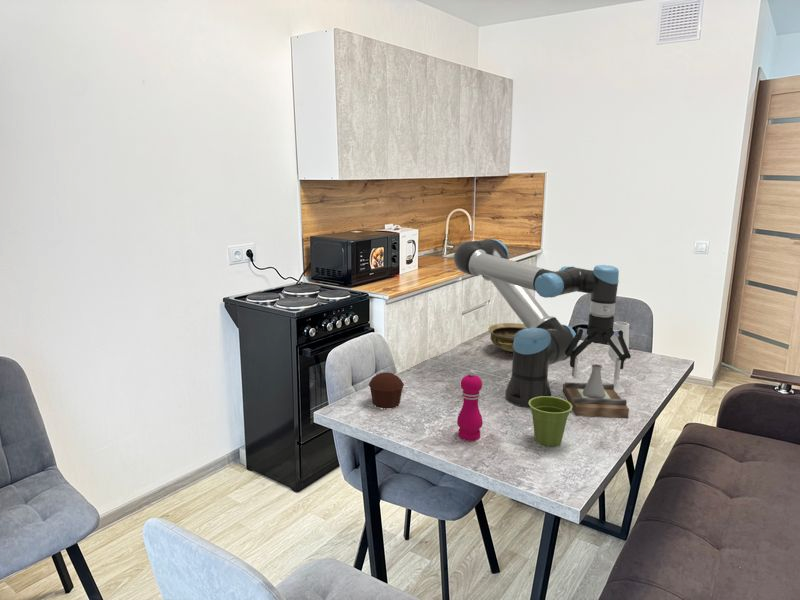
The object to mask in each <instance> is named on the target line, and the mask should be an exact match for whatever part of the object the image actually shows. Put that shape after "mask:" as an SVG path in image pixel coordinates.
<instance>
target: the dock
mask: <svg viewBox="0 0 800 600" xmlns="http://www.w3.org/2000/svg"><path fill="white" fill-rule="evenodd" d="M586 384H587V382H568V381H567V382H564V383H562V391H561V392H562V393H563V396H564V398H565V400H566V401H568V402H570V403H571V404H572V410H571V411H573V414H574V415H575V416H576V417H594V418H598V417H599V418H617V419H618V418H621V419H629V413H630V408H629V406H628V405H627V403H628V401H627V399H626V398H625V399H624V398H623V399H622V398H621V397H620V396H619V393H616V392H615V391H614V385H613V384H614V383H602V384H603V387H604V391H605V394H606V396H604V397H603V398H593V397H589V396H586V395H584V393H583V390H584V388H585V386H586Z"/></svg>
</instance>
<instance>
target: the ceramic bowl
mask: <svg viewBox="0 0 800 600" xmlns="http://www.w3.org/2000/svg"><path fill="white" fill-rule="evenodd" d="M522 329H526V326H525V325H524V324H523V323H515V322H502V323H501V322H500V323H494V324H492V325H490V326H489V327H488V331H489V333H490V340H491V342H492V343H493V344H494V345H495V346H496V347H497V348H499V349H502V350H503V351H505V353H506V352H507V353H506V354H508V353H509V354H508V355H511V354H512V355H511V356H513V342H514V337H515V334H516V333H517V332H518V331H520V330H522Z"/></svg>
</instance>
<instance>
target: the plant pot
mask: <svg viewBox="0 0 800 600" xmlns="http://www.w3.org/2000/svg"><path fill="white" fill-rule="evenodd" d="M529 406H530V407H531V408H530V412H531V415H532V423H533V433H534V439H535V442H537V443H538V444H539V445H543V446H546V447H557V446H559V445H561V443H562V441H563V436H564V432H565V429H566V424H567V420H568V418H569V416H570V411H573V410H572V404H571V403H570V402H568V401H567V399H564V398H561V397H558V396H557V397H556V396H552V397H551V396H540V397H535V398H532V399H531V400H529Z"/></svg>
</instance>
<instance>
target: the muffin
mask: <svg viewBox="0 0 800 600" xmlns="http://www.w3.org/2000/svg"><path fill="white" fill-rule="evenodd" d="M404 385H405V384H404V382H403V380H402V379H401V378H400V377H399V376H398V375H396V374H394V373H392V372H389V371H387V372H379V373H377V374H376V375H373V377H372V378H371V379H370V381H369V383H368V386H369V388H370V396H371V401H372V405H374V407H375V408H378V407H379V408H380V409H382V408H383V410H386V408H392V409H395V408H397V407H399V405H400V403H401V399H402V395H403V394H402V393H403V388H404ZM396 406H397V407H396ZM379 408H378V409H379ZM384 408H385V409H384Z"/></svg>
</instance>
